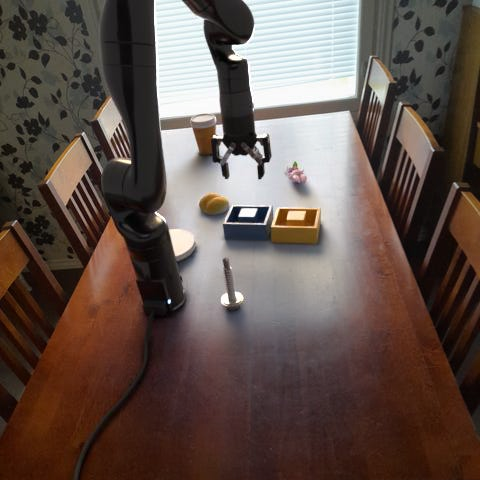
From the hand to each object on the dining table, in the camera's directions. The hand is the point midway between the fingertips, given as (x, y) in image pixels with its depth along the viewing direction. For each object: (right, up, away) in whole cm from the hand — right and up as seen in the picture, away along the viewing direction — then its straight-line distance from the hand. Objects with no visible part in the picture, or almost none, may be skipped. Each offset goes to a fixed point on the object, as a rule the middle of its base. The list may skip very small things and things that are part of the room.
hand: (243, 178), depth 113 cm
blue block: (+2, -10, +10) cm, 14 cm away
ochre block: (+14, -12, +6) cm, 19 cm away
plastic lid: (-19, -18, +6) cm, 27 cm away
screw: (-2, -33, -13) cm, 35 cm away
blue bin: (+2, -11, +10) cm, 15 cm away
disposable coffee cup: (-13, +27, +54) cm, 62 cm away
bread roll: (-8, -3, +21) cm, 23 cm away
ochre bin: (+14, -12, +6) cm, 20 cm away
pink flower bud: (+17, +8, +29) cm, 34 cm away
